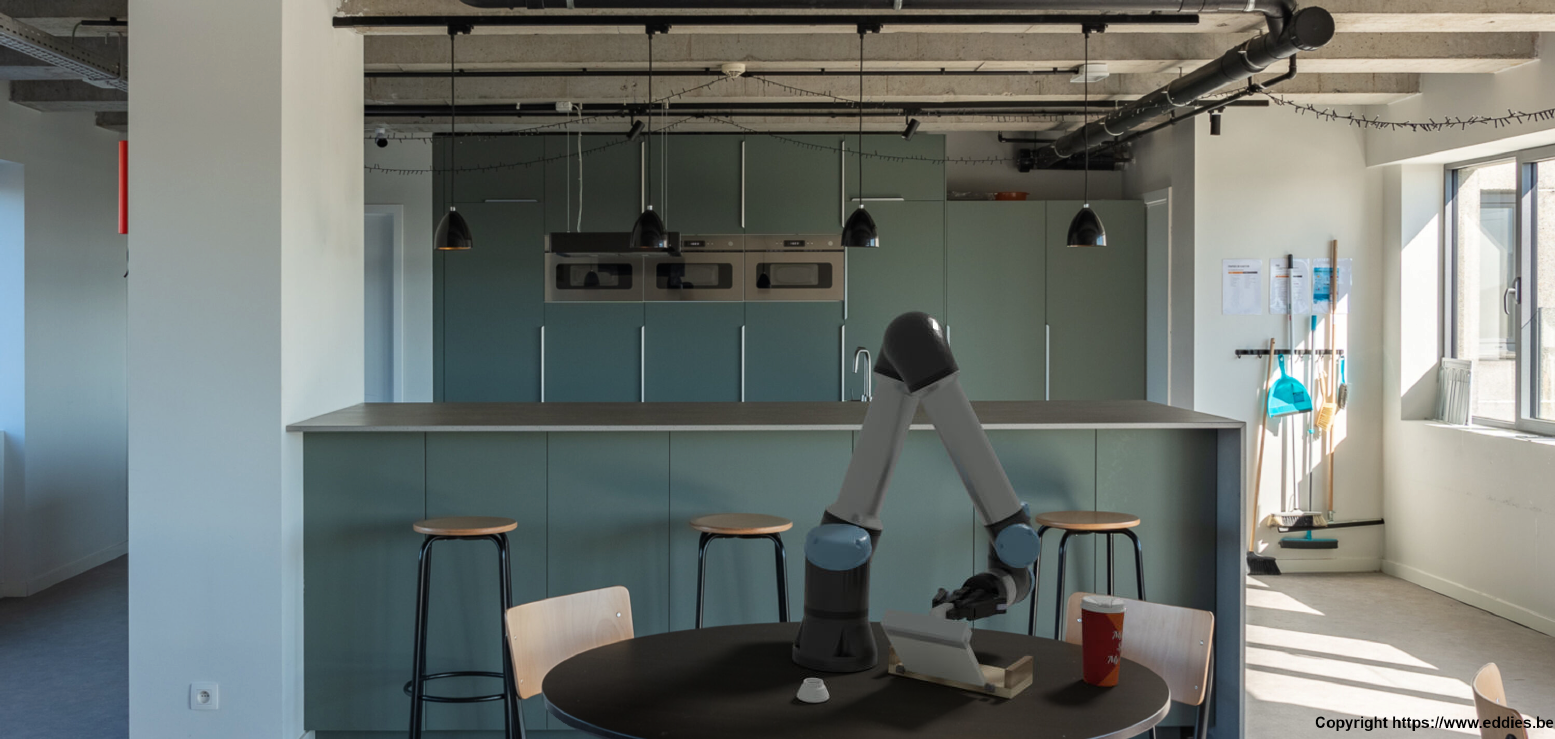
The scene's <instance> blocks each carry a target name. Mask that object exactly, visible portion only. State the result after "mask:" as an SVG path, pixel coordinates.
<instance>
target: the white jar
mask: <svg viewBox="0 0 1555 739" xmlns="http://www.w3.org/2000/svg"><path fill="white" fill-rule="evenodd" d="M796 698H798V700H800V701H803V702H806V703H809V704H811V703H813V704H816V703H823V702H825V701H827V700H829V698H830V694H829V692H828V689H827V686H825V684H824V680H823V679H821V678H816V677H809V678H805V679H804V680H803V683H801V685H800V687H799V689H798V691H797V693H796Z"/></svg>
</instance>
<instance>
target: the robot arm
mask: <svg viewBox="0 0 1555 739" xmlns="http://www.w3.org/2000/svg"><path fill="white" fill-rule="evenodd" d="M882 339H883V340H882V343H881V346H880V349H879V352H878V354H877V358H876V360H875V363H874V367H873V370H872V375H873V377H874V380H875V383H876V385H875V388H874V391H873V395H872V397H871V399H870V402H869V406H868V409H867V411H866V415H865V417H864V420H863V421H862V422H863V423H862V426H861V429H860V432H859V433H858V434H859V435H858V437H857V440H856V444H855V446H854V449H853V451H852V455H851V457H850V460H849V463H848V466H847V469H846V472H845V475H844V478H843V480H842V483H841V487H840V490H839V492H838V496H837V497H836V498H837V499H836V501H835V502H832V503H830V504H829V505H827V506H825V508H824V512H823V513H822V514H823V515H822V518H821V520H820V524H819V525H818V526H815V527H812V528H811V529H810V530H808V532H807V533H806V537H805V543H804V547H803V549H804V556H805V557H804V589H803V615H802V619H801V622H800V625H799V628H798V629H797V633H796V636H795V639H794V642H793V645H792V661H793V662H794V663H796V664H797V665H799V666H801V667H804V668H807V669H810V670H815V671H821V672H830V673H850V672H851V673H853V672H859V671H860V672H861V671H865V670H868V669H871V668H873V667H875V666H876V665H877V664H878V647H877V643H876V640H875V636H874V633H873V630H872V626H871V623H870V622H871V621H870V618H869V617H870V616H869V611H870V580H871V568H872V562H873V559H874V556H875V553H876V549H877V547H878V543H879V542H880V539H881V537H882V536H881V535H882V532H883V530H884V525H883V523H882V522H881V519H880V514H881V511H882V508H883V505H884V503H885V500H886V497H887V494H888V490H889V489H890V485H891V483H892V479H893V478H894V473H895V471H896V467H897V465H898V462H899V460H900V456H901V453H902V450H903V447H904V445H905V442H906V439H907V438H908V437H907V436H908V434H909V430H910V428H911V425H912V422H913V420H914V419H913V418H914V416H915V414H916V410H917V408H918V404H919V402H920V403H921V404H922V406H923V408H924V410H925V413H926V414H927V417H928V418H929V420H930V422H931V424H932V426H933V428H934V430H935V433H936V434H937V436H938V438H939V440H940V442H941V444H942V446H943V448H944V450H945V452H946V454H947V456H948V458H949V459H950V463H951V464H952V466H953V468H954V470H955V472H956V474H957V475H958V477H959V480H960V482H961V484H962V486H963V487H964V489H965V491H966V493H967V495H968V497H969V499H970V502H971V503H972V505H973V507H974V509H975V511H976V513H977V515H978V517H979V519H980V521H981V524H982V525H983V527H984V530H985V532H986V533H987V535H988V538H987V540H988V541H987V543H988V544H987V566H986V567H987V569H986V570H985V571H981V572H979V573H977V574H975V575H972V576H970V577H968V578H967V579H966V580H965V581H964V582H963V584H962V585H961V587H960V588H957V589H954V590H953V591H952V592H950V590H948V589H947V590H946V589H945V588H943V587H940V588H937V593H936V595H935V596H934V597H933V598H932V599H931V608H930V609H928V616H933V617H939V618H945V619H950V620H956V621H962V620H964V619H965V621H966V622H967V621H968V622H972V621H973V622H974V621H978V620H982V619H985V618H990V617H992V616H997V615H1006V614H1007V610H1008V609H1007V608H1008V607H1011V606H1013V605H1015V604H1019V603H1020V602H1022V601H1024V600H1025V599H1026V598H1027V597H1028V596H1030V594H1031V593H1032V592H1033V590H1034V588H1035V584H1036V579H1035V578H1036V577H1035V575H1034V572H1033V570H1032V568H1031V567H1030V566H1031V565H1033V564H1034V563H1035V562H1036V561H1037V559H1038V558H1039V556H1040V554H1041V548H1042V546H1041V539H1040V537H1039V535H1038V533H1037V531H1036V530H1035V529H1034V528H1033V527H1034V526H1032V524H1031V514H1030V513H1031V512H1030V511H1031V510H1030V505H1029V503H1028V502H1026V501H1023V500H1020V499H1019V498H1018V496H1017V494H1016V491H1015V490H1014V488H1013V486H1012V483H1011V481H1010V479H1009V477H1008V476H1007V474H1006V472H1005V470H1004V468H1003V465H1002V464H1001V462H1000V459H999V458H998V455H997V453H996V452H995V450H994V448H993V446H992V444H991V442H990V440H989V438H988V435H987V434H986V431H985V430H984V429H983V427H982V425H981V422H980V420H979V418H978V416H977V415H976V414H977V413H975V411H974V408H973V407H972V404H971V403H970V400H969V399H968V397H967V394H966V393H965V391H964V389H963V387H962V384H961V382H960V379H959V376H960V373H961V370H960V368H959V366H958V363H957V362H956V360H955V357H954V355H953V352H952V349H951V347H950V343H949V340H948V337H947V333H946V331H945V328H944V327H943V325H942V324H941V322H940V321H939V320H938V319H937V318H936V317H935V316H932V315H931V314H929V313H926V312H923V311H917V310H916V311H915V310H914V311H907V312H903V313H902V314H900V315H898V316H896V317H895V318H894V319H892V320H891V321H890V323H888V325H887V327H886V329H885V330H884V334H883V338H882Z"/></svg>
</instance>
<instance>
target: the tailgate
mask: <svg viewBox="0 0 1555 739" xmlns="http://www.w3.org/2000/svg"><path fill="white" fill-rule="evenodd" d="M880 627H881V628H882V630H883V631H884V632H883V633H885V636H886V637H887V639H888V641H889V643H890V644H891V646H893V648H894V650H895V652H896V653H897V655H898V657H899V659H900V661H901V663H902V664H903V666H904V668H905V670H906V671H911V672H916V673H920V674H925V675H930V676H935V677H940V678H944V679H949V680H954V681H959V682H964V683H968V684H973V685H978V686H983V687H984V686H985V683H986V678H985V676H984V674H983V672H982V670H981V668H980V666H979V664H980V663H979V662H978V660H977V658H976V656H975V655H976V654H975V653H974V651H973V649H972V647H971V645H970V642H971V641H970V640H971V639H972V635H973V631H972V630H971V627H970V625H969V623H968V622H967V621H962V620H950V619H945V618H939V617H933V616H929V615H927V614H920V613H915V612H910V611H904V610H898V609H892V608H886V609H885V612H884V614H883V616H882V619H881V621H880Z"/></svg>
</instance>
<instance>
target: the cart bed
mask: <svg viewBox="0 0 1555 739" xmlns="http://www.w3.org/2000/svg"><path fill="white" fill-rule="evenodd" d="M888 648H889V649H888V650H889V651H888V654H889V655H888V674H893V675H899V676H902V677H908V678H911V679H912V678H913V679H916V680H921V681H927V682H931V683H935V684H940V685H945V686H949V687H955V688H959V689H965V690H968V691H974V692H978V693H983V694H986V695H987V694H988V695H992V696H997V697H1000V698H1006V699H1010V700H1011V699H1012V698H1014V697H1015V696H1017V695H1018V694H1020V693H1021V692H1023V690H1025V689H1026V688H1028V687H1029V686H1031V685H1032V684H1033V679H1034V678H1033V675H1034V672H1033V669H1034V656H1031V655H1024V656H1023V657H1021V658H1020V659H1019V660H1017V661H1016V662H1014V663H1012V664H1010V665H1009V666H1007V667H1006V668H1001V667H996V666H992V665H987V664H981V663H978V664H979V666H980V668H981V670H982V672H983V674H984V676H985V678H986V683H985V686H984V687H983V686H978V685H973V684H968V683H964V682H959V681H954V680H949V679H944V678H940V677H935V676H930V675H925V674H920V673H916V672H911V671H906V670H905V668H904V666H903V664H902V663H901V661H900V659H899V657H898V655H897V653H896V652H895V650H894V648H893V646H892V645H890V646H889V647H888Z"/></svg>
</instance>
